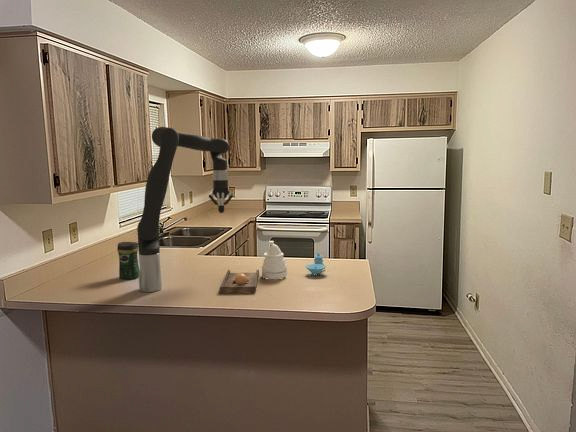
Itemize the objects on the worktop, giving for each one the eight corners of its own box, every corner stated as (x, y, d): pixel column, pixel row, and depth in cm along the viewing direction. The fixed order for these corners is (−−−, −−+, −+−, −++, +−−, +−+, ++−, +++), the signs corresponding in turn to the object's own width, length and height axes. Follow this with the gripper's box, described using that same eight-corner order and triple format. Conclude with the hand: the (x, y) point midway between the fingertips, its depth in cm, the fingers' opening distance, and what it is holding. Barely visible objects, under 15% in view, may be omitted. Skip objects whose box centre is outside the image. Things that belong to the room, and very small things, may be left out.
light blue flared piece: (324, 278, 220) (324, 260, 218) (303, 277, 222) (303, 259, 221) (329, 268, 237) (329, 252, 236) (310, 267, 239) (310, 251, 238)
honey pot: (256, 276, 223) (255, 242, 220) (274, 271, 232) (273, 238, 230) (274, 281, 214) (274, 245, 212) (292, 276, 224) (292, 241, 221)
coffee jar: (142, 275, 227) (140, 240, 224) (134, 280, 219) (131, 243, 216) (125, 274, 229) (123, 240, 226) (116, 279, 221) (114, 243, 218)
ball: (234, 273, 210) (235, 285, 210) (234, 274, 204) (235, 287, 204) (247, 272, 211) (247, 285, 211) (247, 273, 205) (247, 286, 205)
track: (220, 293, 197) (220, 286, 197) (228, 275, 225) (227, 270, 225) (255, 292, 198) (255, 286, 197) (259, 275, 225) (259, 269, 225)
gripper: (206, 179, 219) (207, 214, 222) (232, 179, 219) (233, 213, 222) (208, 178, 226) (209, 212, 229) (234, 178, 227) (235, 211, 229)
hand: (221, 212), depth 225 cm, fingers closed
